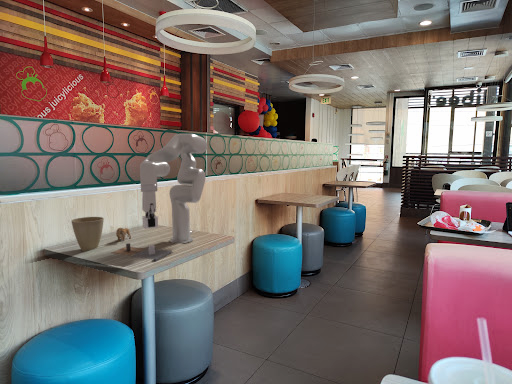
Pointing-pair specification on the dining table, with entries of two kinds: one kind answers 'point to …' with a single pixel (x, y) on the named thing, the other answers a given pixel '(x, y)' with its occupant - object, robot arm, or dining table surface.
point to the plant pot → (88, 231)
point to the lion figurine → (122, 233)
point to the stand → (128, 250)
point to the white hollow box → (145, 222)
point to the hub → (152, 253)
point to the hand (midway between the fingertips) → (150, 225)
